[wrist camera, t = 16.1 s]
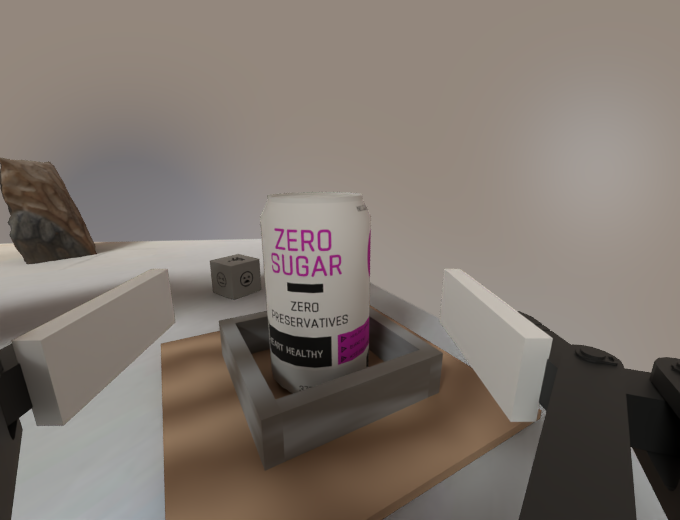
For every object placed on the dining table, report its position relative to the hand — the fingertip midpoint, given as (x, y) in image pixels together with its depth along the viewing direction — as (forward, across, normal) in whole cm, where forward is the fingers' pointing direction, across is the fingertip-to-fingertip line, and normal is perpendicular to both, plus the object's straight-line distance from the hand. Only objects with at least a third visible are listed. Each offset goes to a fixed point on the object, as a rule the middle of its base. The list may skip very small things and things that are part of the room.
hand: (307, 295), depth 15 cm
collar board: (+10, 0, -12) cm, 16 cm away
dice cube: (+31, -14, -12) cm, 36 cm away
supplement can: (+10, 0, -11) cm, 15 cm away
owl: (+53, -58, -12) cm, 80 cm away
